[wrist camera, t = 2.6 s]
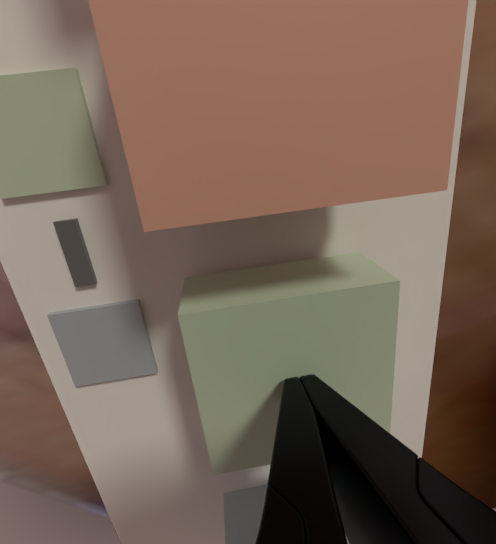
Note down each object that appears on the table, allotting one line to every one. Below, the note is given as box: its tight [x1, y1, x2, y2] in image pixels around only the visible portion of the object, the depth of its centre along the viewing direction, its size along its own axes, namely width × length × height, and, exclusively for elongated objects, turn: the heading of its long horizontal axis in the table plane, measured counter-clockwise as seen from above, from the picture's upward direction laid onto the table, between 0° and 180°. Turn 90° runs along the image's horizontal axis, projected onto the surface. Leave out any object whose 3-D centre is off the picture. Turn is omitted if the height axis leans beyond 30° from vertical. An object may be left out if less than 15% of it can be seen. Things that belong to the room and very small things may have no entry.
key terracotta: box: [88, 0, 468, 232], centre depth 6 cm, size 6×6×2 cm
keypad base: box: [0, 0, 476, 544], centre depth 11 cm, size 14×31×3 cm, turn 7°
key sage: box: [178, 252, 400, 475], centre depth 10 cm, size 6×6×2 cm
